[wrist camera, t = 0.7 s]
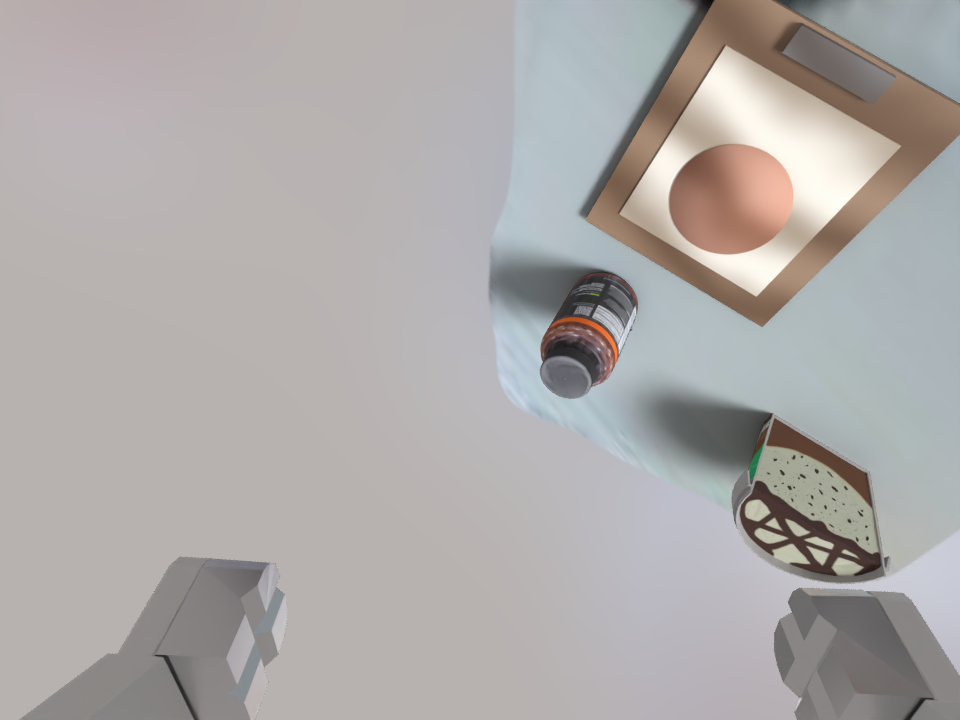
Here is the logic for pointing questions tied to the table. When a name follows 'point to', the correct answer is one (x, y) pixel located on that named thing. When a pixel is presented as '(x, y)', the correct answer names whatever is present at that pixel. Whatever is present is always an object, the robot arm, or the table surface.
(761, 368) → the table surface
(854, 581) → the food container
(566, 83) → the table surface
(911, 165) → the clipboard
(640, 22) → the table surface
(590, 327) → the supplement bottle
